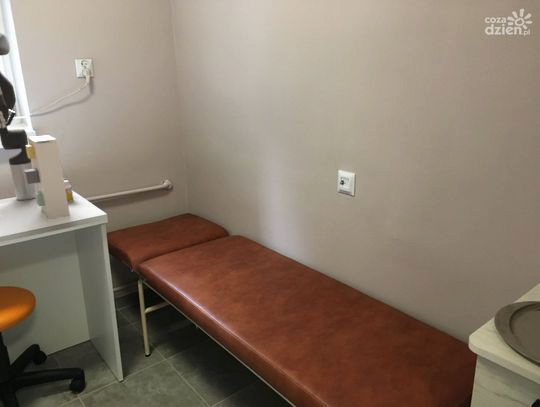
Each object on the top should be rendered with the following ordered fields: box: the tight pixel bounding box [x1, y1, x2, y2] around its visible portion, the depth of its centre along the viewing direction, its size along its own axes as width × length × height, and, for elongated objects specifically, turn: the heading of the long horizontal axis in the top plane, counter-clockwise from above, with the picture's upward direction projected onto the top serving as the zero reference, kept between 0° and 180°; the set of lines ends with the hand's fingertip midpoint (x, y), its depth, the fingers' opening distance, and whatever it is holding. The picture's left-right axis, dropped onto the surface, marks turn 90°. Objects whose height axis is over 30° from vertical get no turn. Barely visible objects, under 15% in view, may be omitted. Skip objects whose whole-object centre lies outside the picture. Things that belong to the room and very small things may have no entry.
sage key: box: [35, 190, 45, 207], centre depth 186 cm, size 6×6×5 cm
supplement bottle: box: [64, 179, 74, 203], centre depth 204 cm, size 5×5×10 cm
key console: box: [27, 135, 71, 220], centre depth 185 cm, size 18×8×32 cm, turn 36°
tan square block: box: [26, 144, 36, 160], centre depth 180 cm, size 6×6×5 cm
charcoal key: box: [24, 167, 40, 184], centre depth 182 cm, size 6×6×5 cm
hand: (5, 136), depth 179 cm, fingers closed
